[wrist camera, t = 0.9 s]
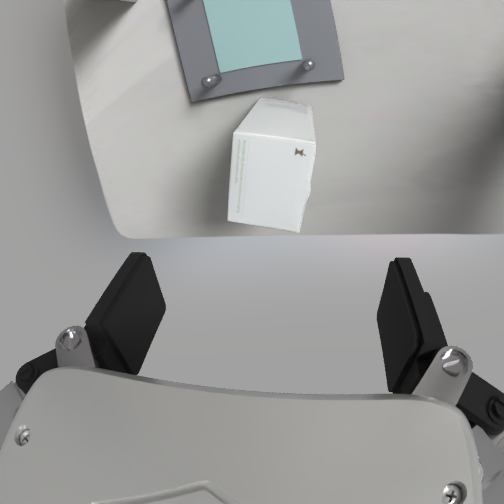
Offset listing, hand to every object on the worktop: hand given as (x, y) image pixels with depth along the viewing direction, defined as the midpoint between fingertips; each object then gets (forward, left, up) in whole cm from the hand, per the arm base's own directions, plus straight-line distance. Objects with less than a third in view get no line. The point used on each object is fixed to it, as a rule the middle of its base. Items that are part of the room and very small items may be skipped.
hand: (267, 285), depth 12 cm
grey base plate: (+3, -13, -29) cm, 31 cm away
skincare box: (+2, +1, -29) cm, 29 cm away
